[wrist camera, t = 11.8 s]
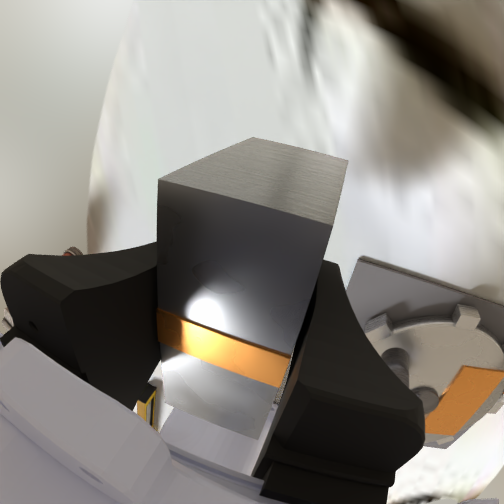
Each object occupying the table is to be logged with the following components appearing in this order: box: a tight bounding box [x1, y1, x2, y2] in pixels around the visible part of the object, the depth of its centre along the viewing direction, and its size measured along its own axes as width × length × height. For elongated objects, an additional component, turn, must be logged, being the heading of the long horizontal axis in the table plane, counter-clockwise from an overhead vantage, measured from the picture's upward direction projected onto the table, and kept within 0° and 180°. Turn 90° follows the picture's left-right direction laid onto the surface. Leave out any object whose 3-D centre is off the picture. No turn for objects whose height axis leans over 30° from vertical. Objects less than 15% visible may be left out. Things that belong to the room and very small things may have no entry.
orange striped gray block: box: [156, 137, 348, 440], centre depth 10 cm, size 4×8×6 cm, turn 171°
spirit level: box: [137, 382, 157, 428], centre depth 42 cm, size 33×1×3 cm, turn 164°
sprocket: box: [365, 304, 504, 445], centre depth 20 cm, size 17×17×4 cm
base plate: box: [346, 259, 504, 449], centre depth 22 cm, size 18×18×1 cm
